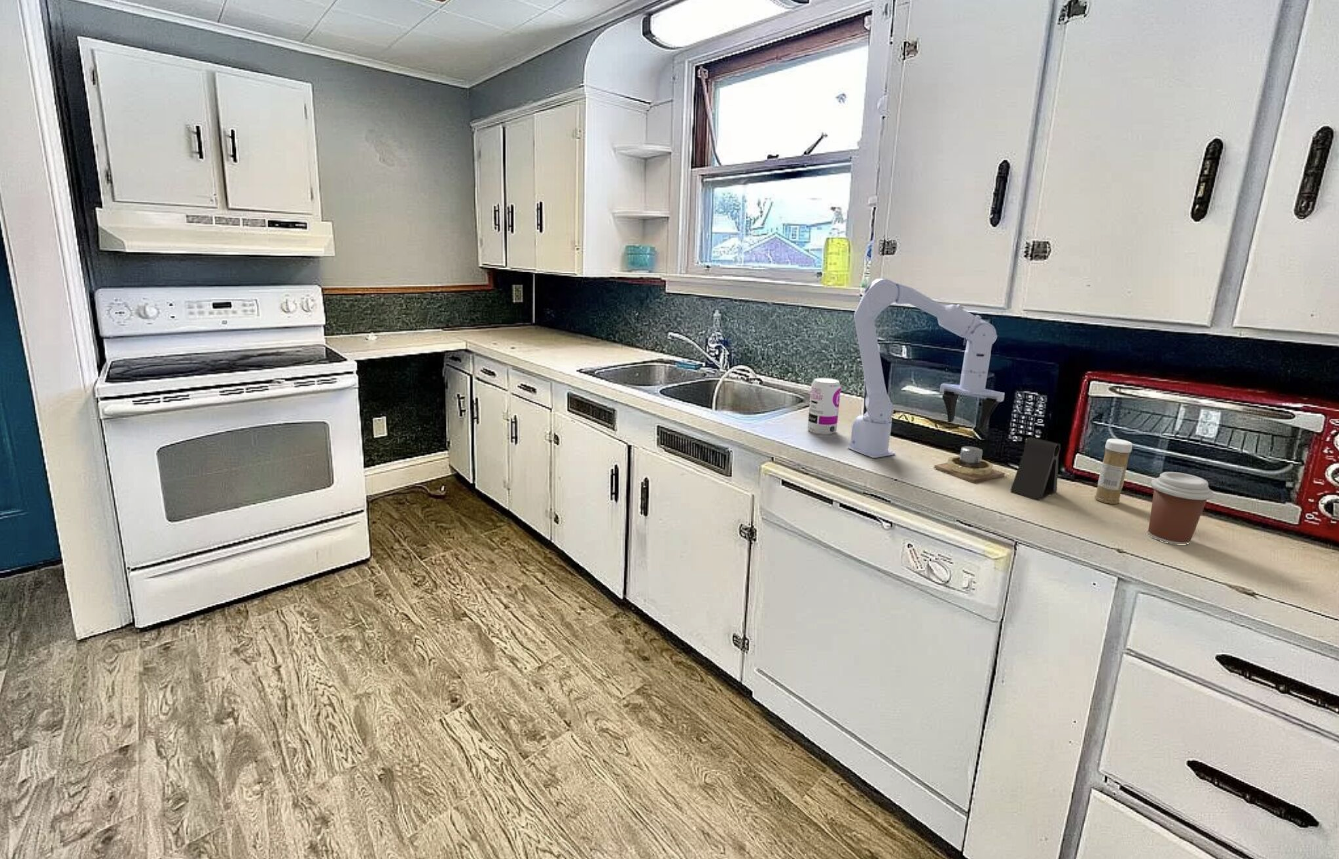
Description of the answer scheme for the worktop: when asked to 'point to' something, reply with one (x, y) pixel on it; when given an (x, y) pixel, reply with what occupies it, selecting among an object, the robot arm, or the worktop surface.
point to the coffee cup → (1177, 506)
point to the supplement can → (824, 406)
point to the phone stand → (1037, 469)
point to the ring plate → (969, 478)
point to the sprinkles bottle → (1113, 470)
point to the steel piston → (970, 457)
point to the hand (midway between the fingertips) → (966, 424)
